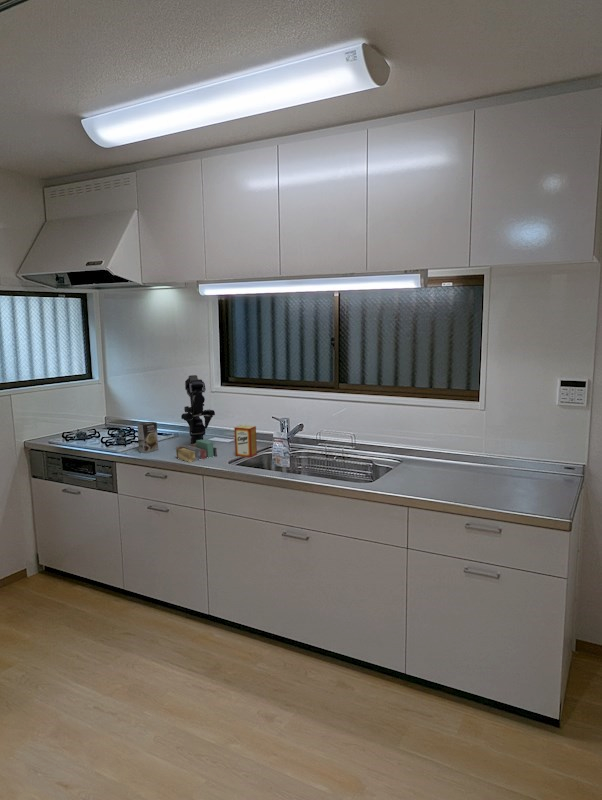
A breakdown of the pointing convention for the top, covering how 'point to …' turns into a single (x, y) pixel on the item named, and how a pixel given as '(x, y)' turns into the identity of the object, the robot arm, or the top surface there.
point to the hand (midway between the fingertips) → (199, 429)
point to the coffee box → (147, 437)
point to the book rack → (192, 453)
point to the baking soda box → (245, 441)
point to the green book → (205, 447)
